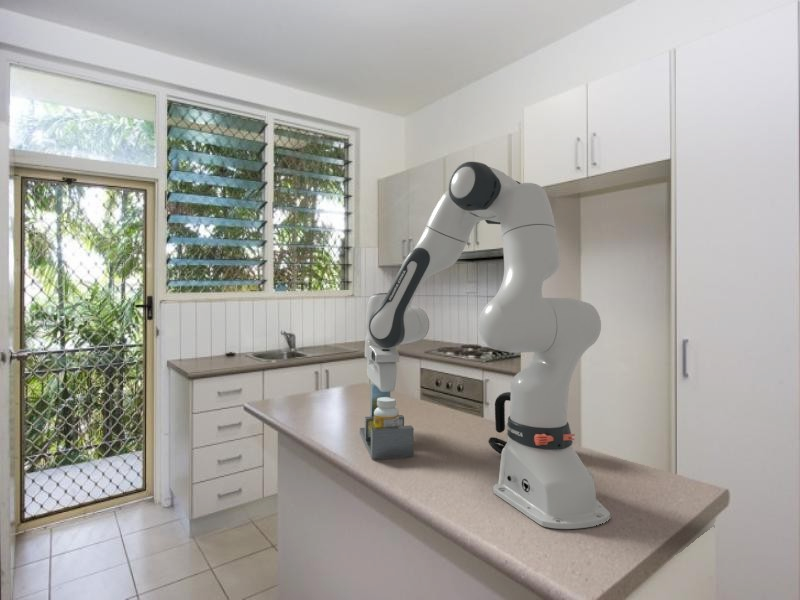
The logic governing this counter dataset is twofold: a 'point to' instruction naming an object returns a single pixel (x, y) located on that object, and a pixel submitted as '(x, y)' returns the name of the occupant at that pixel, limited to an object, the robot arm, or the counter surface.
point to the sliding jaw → (373, 405)
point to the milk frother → (499, 421)
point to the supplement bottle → (386, 413)
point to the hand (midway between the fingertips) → (378, 400)
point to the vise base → (389, 442)
